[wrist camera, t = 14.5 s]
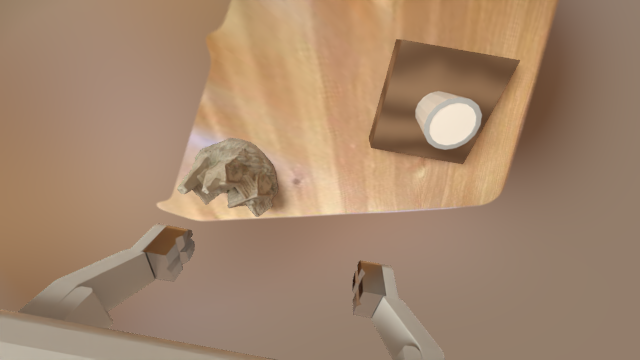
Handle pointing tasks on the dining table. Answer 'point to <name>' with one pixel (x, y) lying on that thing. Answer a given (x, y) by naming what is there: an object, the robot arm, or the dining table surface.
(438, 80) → the walnut block
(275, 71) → the dining table surface
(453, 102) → the white cup
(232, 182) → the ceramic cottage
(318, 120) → the dining table surface
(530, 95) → the dining table surface
